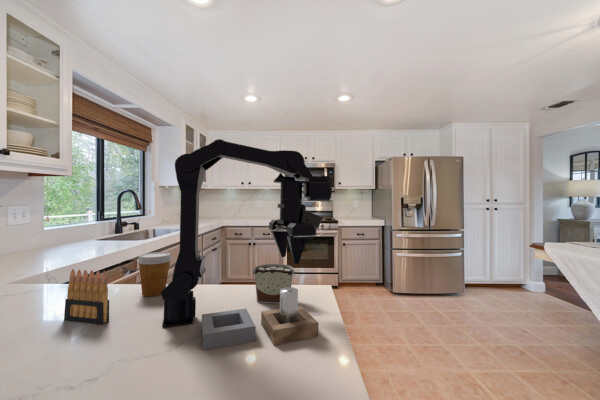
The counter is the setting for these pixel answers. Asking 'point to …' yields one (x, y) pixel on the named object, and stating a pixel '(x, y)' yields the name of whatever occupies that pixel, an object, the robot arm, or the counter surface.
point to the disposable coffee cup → (153, 272)
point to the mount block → (289, 327)
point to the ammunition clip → (87, 298)
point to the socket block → (227, 328)
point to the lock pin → (288, 305)
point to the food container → (272, 281)
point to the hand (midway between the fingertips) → (289, 260)
